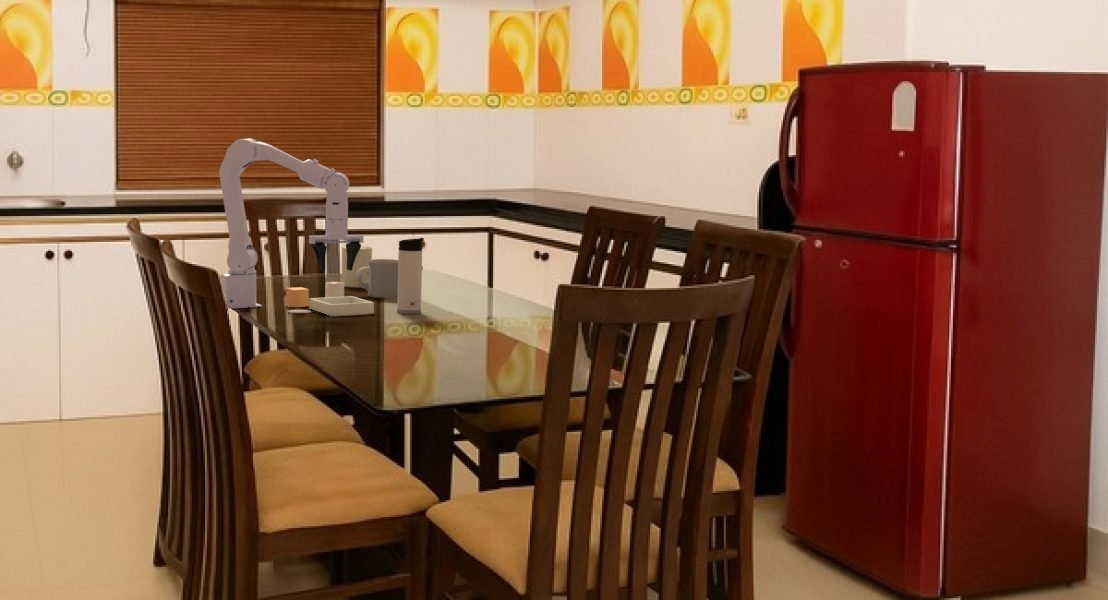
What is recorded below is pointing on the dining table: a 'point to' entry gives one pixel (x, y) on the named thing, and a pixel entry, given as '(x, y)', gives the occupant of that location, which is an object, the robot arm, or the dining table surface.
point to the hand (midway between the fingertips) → (335, 270)
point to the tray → (341, 306)
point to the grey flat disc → (299, 311)
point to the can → (355, 266)
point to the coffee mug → (380, 278)
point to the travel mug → (409, 276)
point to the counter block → (297, 297)
